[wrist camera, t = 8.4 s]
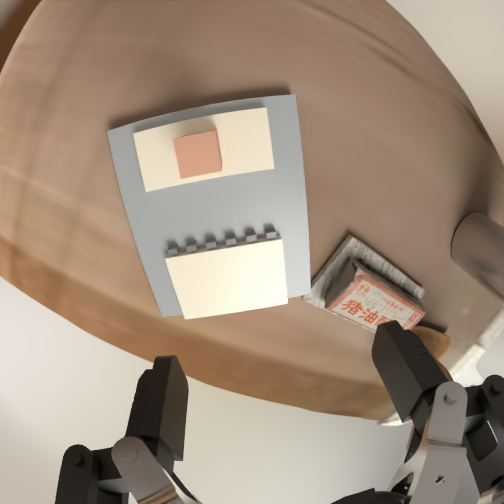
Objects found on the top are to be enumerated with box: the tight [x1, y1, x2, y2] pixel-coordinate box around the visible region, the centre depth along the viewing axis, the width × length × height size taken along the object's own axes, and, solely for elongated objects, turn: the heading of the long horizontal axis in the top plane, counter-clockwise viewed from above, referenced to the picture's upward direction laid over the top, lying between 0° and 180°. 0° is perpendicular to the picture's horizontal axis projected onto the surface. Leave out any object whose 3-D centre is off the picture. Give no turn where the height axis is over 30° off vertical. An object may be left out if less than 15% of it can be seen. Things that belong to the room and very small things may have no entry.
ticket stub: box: [133, 107, 275, 192], centre depth 21 cm, size 12×6×6 cm, turn 98°
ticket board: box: [107, 94, 311, 319], centre depth 27 cm, size 18×22×2 cm
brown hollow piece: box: [408, 326, 454, 423], centre depth 36 cm, size 15×12×15 cm
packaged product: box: [302, 235, 426, 333], centre depth 33 cm, size 18×5×10 cm
